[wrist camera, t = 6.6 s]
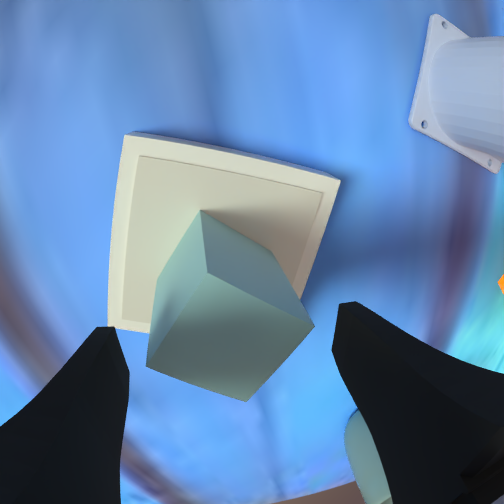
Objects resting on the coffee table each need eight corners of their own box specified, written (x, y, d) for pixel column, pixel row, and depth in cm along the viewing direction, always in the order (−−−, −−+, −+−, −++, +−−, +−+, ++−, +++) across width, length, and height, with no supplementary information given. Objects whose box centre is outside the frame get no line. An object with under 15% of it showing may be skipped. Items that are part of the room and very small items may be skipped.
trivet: (321, 169, 17) (342, 181, 15) (272, 321, 21) (282, 348, 19) (134, 130, 15) (124, 135, 12) (115, 301, 18) (107, 328, 16)
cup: (335, 402, 25) (379, 497, 16) (411, 375, 26) (465, 454, 17) (331, 444, 29) (363, 522, 20) (397, 420, 29) (436, 489, 20)
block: (271, 251, 16) (314, 326, 10) (226, 313, 17) (246, 402, 11) (199, 209, 14) (207, 272, 9) (157, 279, 15) (145, 366, 10)
